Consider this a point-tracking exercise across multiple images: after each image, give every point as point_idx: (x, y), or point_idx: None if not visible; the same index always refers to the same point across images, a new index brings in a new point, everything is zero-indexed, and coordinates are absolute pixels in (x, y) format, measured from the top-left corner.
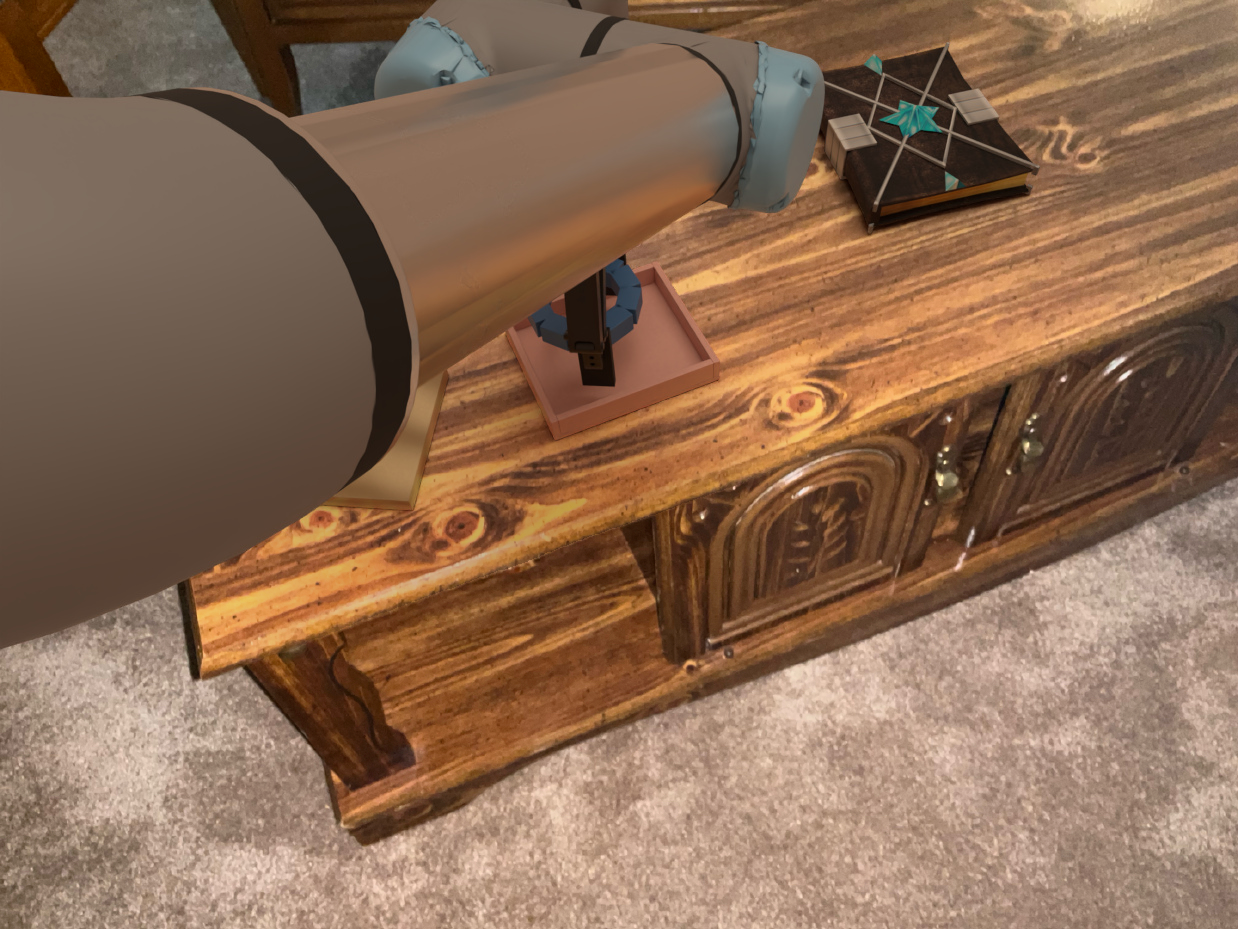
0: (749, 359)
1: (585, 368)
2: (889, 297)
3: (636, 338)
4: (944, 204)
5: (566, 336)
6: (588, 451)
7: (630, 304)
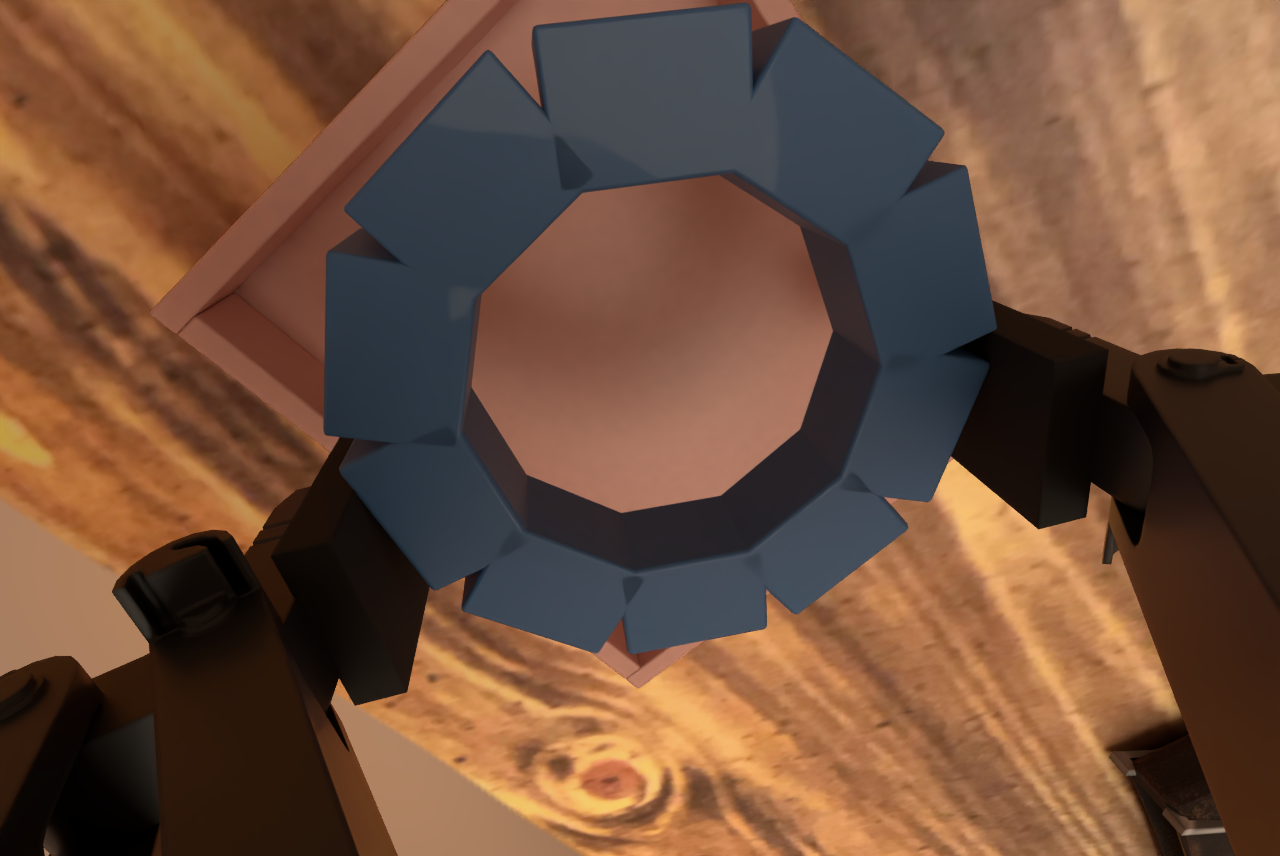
0: (709, 664)
1: (292, 495)
2: (927, 820)
3: (712, 401)
4: (1172, 848)
5: (130, 599)
6: (227, 404)
7: (653, 627)
